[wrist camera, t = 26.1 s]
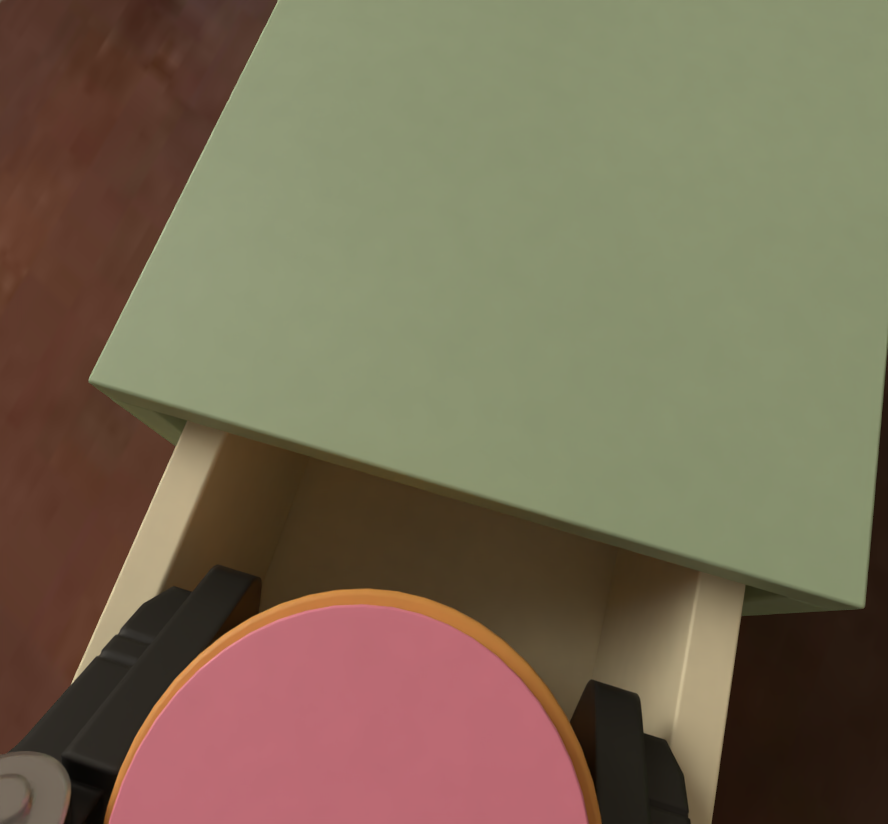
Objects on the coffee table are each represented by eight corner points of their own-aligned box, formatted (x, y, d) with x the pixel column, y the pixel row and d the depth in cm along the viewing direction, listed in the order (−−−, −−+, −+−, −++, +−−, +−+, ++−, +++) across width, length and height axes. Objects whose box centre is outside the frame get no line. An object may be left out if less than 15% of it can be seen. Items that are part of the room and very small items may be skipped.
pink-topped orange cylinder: (230, 839, 14) (-29, 1095, 6) (319, 582, 15) (204, 528, 8) (481, 926, 13) (544, 1319, 6) (544, 651, 15) (659, 667, 7)
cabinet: (664, 621, 18) (867, 610, 10) (239, 494, 19) (85, 381, 11) (740, 196, 23) (924, -67, 14) (392, 110, 24) (370, -186, 15)
